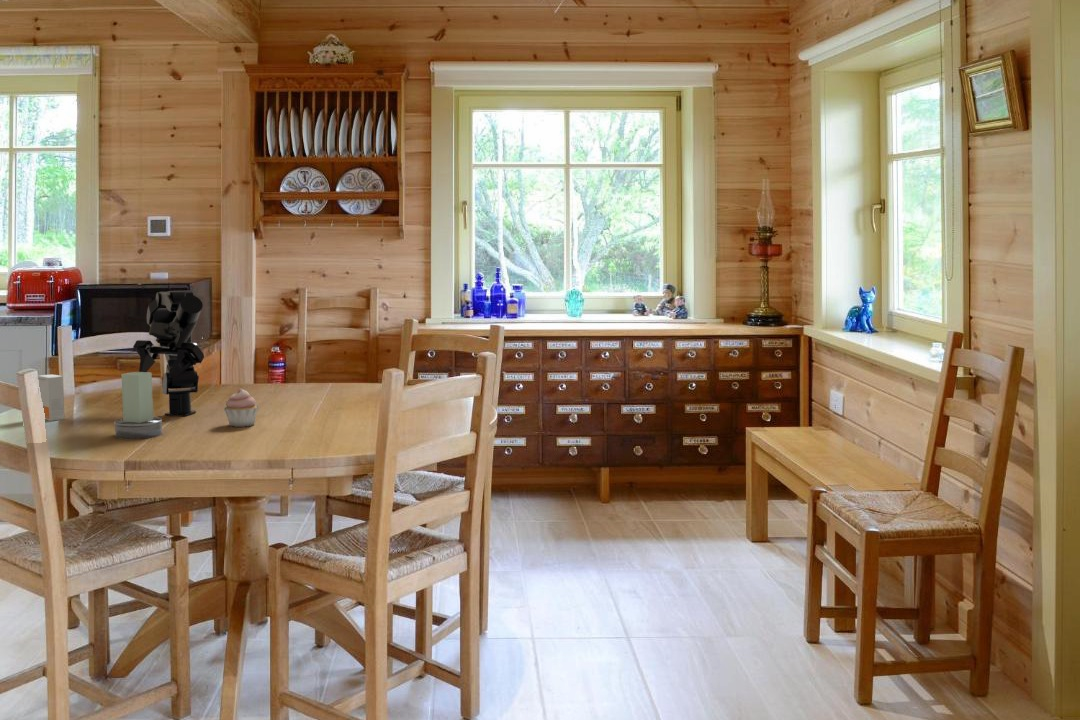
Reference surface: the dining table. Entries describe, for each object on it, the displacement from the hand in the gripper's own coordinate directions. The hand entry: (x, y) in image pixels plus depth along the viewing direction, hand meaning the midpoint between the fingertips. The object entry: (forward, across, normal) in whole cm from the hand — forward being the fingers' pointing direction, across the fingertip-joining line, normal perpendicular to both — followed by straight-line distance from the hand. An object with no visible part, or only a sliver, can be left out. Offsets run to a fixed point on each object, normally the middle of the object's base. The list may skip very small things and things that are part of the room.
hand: (154, 376), depth 264 cm
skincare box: (+9, -34, +10) cm, 37 cm away
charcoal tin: (+17, +3, +2) cm, 17 cm away
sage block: (+14, +3, 0) cm, 14 cm away
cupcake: (+2, +19, +17) cm, 26 cm away
